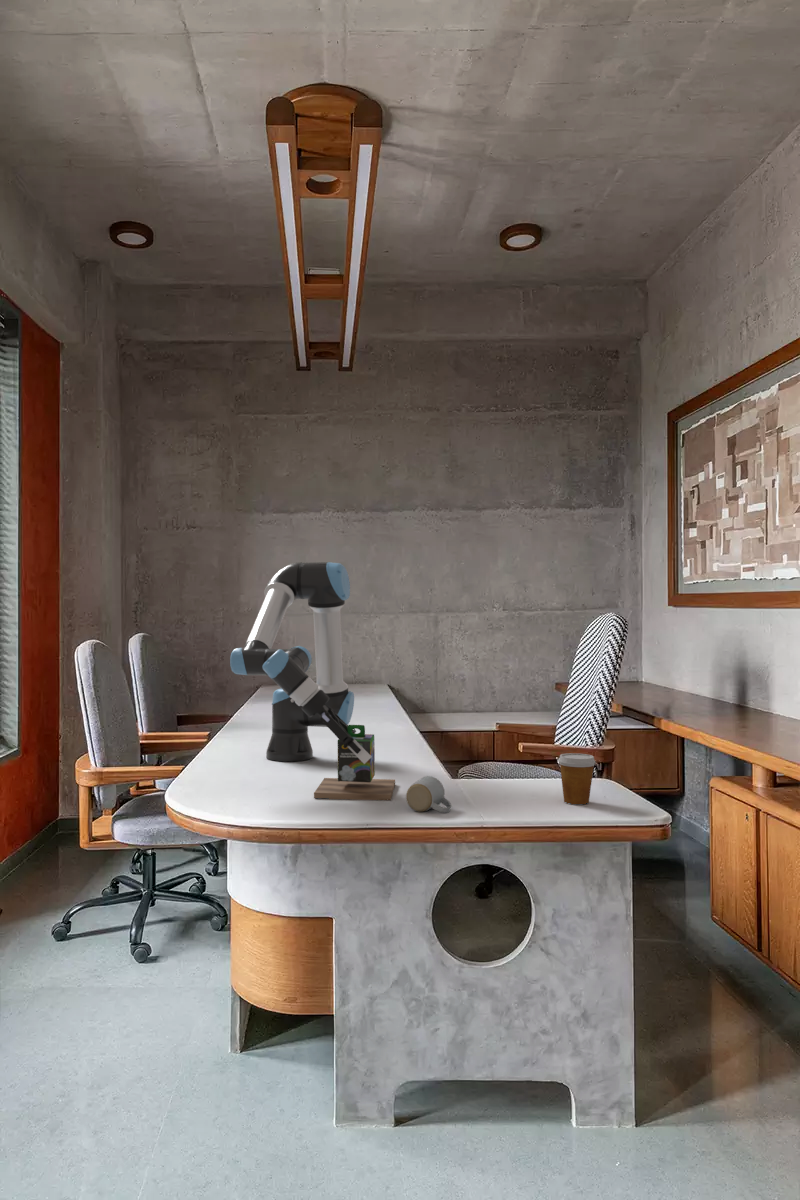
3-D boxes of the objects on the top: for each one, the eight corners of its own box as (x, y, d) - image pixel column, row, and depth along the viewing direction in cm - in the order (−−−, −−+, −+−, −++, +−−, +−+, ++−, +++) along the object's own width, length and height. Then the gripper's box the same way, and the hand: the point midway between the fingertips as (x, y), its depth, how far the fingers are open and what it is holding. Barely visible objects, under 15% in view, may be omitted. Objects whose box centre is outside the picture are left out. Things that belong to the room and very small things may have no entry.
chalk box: (374, 776, 246) (375, 722, 246) (371, 782, 236) (371, 727, 236) (341, 775, 246) (342, 721, 246) (336, 781, 237) (337, 726, 237)
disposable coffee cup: (598, 806, 226) (599, 759, 226) (560, 806, 226) (561, 758, 226) (591, 798, 236) (591, 753, 236) (555, 798, 236) (555, 752, 236)
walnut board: (324, 783, 252) (324, 777, 252) (395, 784, 251) (395, 779, 251) (313, 798, 232) (314, 792, 232) (390, 800, 231) (390, 794, 231)
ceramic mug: (403, 811, 219) (404, 779, 219) (416, 804, 226) (417, 774, 226) (444, 816, 215) (445, 784, 215) (456, 809, 222) (456, 778, 222)
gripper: (303, 703, 252) (358, 759, 252) (296, 712, 230) (357, 774, 230) (322, 684, 252) (377, 740, 253) (317, 692, 230) (378, 754, 230)
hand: (368, 757), depth 241 cm, fingers closed on chalk box, 9 cm apart
